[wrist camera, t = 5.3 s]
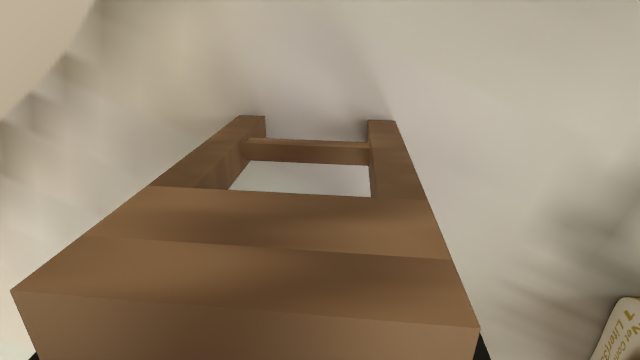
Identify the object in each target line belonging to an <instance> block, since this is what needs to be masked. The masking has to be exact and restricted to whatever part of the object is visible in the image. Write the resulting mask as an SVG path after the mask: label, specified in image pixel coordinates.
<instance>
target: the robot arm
mask: <svg viewBox="0 0 640 360" xmlns="http://www.w3.org/2000/svg"><path fill="white" fill-rule="evenodd" d="M29 360H40V359H39V357H38V355H37V352H35V353H34V355H33V356H32V357H31V358H30V359H29ZM473 360H491V358H490V356H489V353H488V351H487V348H486V346H485V344H484V341H483V339H482V336H481V334H480V333H479V337H478V341H477V344H476V348H475V352H474V356H473Z"/></svg>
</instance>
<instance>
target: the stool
mask: <svg viewBox="0 0 640 360" xmlns="http://www.w3.org/2000/svg"><path fill="white" fill-rule="evenodd" d="M251 160H253V161H275V162H297V163H319V164H341V165H364V166H368V167H369V178H370V190H371V197H353V196H334V195H315V194H296V193H277V192H258V191H239V190H228V189H229V187H230V186H231V185H232V183H233V182H234V181H235V180H236V178H237V177H238V176H239V175H240V173H241V172H242V171H243V170H244V168H245V167H246V166H247V164H248V163H249V162H250V161H251ZM10 292H11V295H12V297H13V299H14V302H15V304H16V306H17V309H18V311H19V313H20V315H21V318H22V320H23V322H24V325H25V327H26V329H27V332H28V334H29V336H30V339H31V341H32V343H33V345H34V348H35V350H36V352H37V355H38V357H39V359H40V360H473V356H474V352H475V348H476V344H477V341H478V337H479V333H480V329H481V328H480V326H479V323H478V321H477V318H476V316H475V313H474V311H473V309H472V306H471V304H470V301H469V299H468V296H467V294H466V292H465V289H464V287H463V284H462V282H461V279H460V277H459V275H458V272H457V270H456V267H455V265H454V263H453V260H452V258H451V255H450V253H449V250H448V248H447V246H446V243H445V241H444V238H443V236H442V233H441V231H440V229H439V226H438V224H437V221H436V219H435V217H434V214H433V212H432V209H431V207H430V204H429V202H428V200H427V197H426V195H425V192H424V190H423V187H422V185H421V183H420V180H419V178H418V175H417V173H416V171H415V168H414V166H413V163H412V161H411V158H410V156H409V154H408V151H407V149H406V146H405V144H404V141H403V139H402V137H401V134H400V132H399V129H398V127H397V125H396V122H395V121H389V120H368V131H367V142H344V141H319V140H294V139H269V138H266V129H265V116H245V115H239V116H238V117H237V118H236V119H234V120H233V121H232V122H230V123H229V124H228V125H226V126H225V127H224V128H222V129H221V130H220V131H218V132H217V133H216V134H215V135H213V136H212V137H211V138H209V139H208V140H207V141H205V142H204V143H203V144H201V145H200V146H199V147H197V148H196V149H195V150H193V151H192V152H191V153H190V154H188V155H187V156H186V157H184V158H183V159H182V160H180V161H179V162H178V163H176V164H175V165H174V166H172V167H171V168H170V169H169V170H167V171H166V172H165V173H163V174H162V175H161V176H159V177H158V178H157V179H155V180H154V181H153V182H151V183H150V184H149V185H148V186H146V187H145V188H144V189H142V190H141V191H140V192H138V193H137V194H136V195H134V196H133V197H132V198H130V199H129V200H128V201H127V202H125V203H124V204H123V205H121V206H120V207H119V208H117V209H116V210H115V211H113V212H112V213H111V214H109V215H108V216H107V217H105V218H104V219H103V220H102V221H100V222H99V223H98V224H96V225H95V226H94V227H92V228H91V229H90V230H88V231H87V232H86V233H84V234H83V235H82V236H81V237H79V238H78V239H77V240H75V241H74V242H73V243H71V244H70V245H69V246H67V247H66V248H65V249H63V250H62V251H61V252H60V253H58V254H57V255H56V256H54V257H53V258H52V259H50V260H49V261H48V262H46V263H45V264H44V265H42V266H41V267H40V268H39V269H37V270H36V271H35V272H33V273H32V274H31V275H29V276H28V277H27V278H25V279H24V280H23V281H21V282H20V283H19V284H17V285H16V286H15V287H14V288H12V289H11V290H10Z"/></svg>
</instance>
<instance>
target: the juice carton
mask: <svg viewBox="0 0 640 360" xmlns="http://www.w3.org/2000/svg"><path fill="white" fill-rule="evenodd" d="M590 360H640V298H631V297H624V298H621V299H619V301H618V302H617V303H616V305H615V307H614V309H613V311H612V313H611V315H610V317H609V319H608V321H607V324H606V326H605V328H604V331H603V333H602V336H601V338H600V340H599V342H598V345H597V347H596V349H595V351H594V353H593V355H592V357H591V359H590Z"/></svg>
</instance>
